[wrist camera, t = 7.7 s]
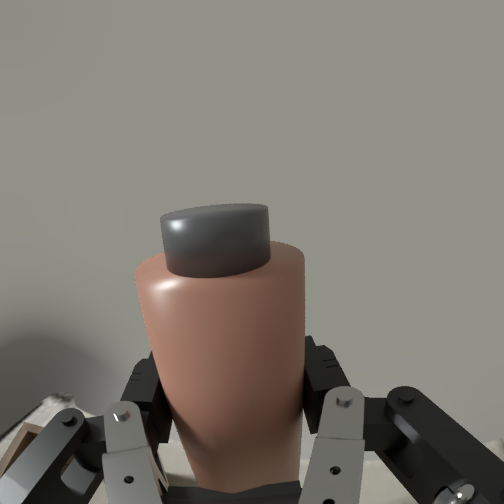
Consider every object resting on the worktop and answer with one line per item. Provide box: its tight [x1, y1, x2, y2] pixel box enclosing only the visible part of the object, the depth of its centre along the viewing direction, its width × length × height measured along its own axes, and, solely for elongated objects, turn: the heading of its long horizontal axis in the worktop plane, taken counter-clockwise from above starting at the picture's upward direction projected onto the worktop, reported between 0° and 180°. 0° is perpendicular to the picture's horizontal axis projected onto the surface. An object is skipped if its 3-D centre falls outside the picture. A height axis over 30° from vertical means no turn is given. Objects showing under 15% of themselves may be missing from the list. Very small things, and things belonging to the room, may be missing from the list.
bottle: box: [135, 204, 305, 493], centre depth 11 cm, size 5×5×15 cm
